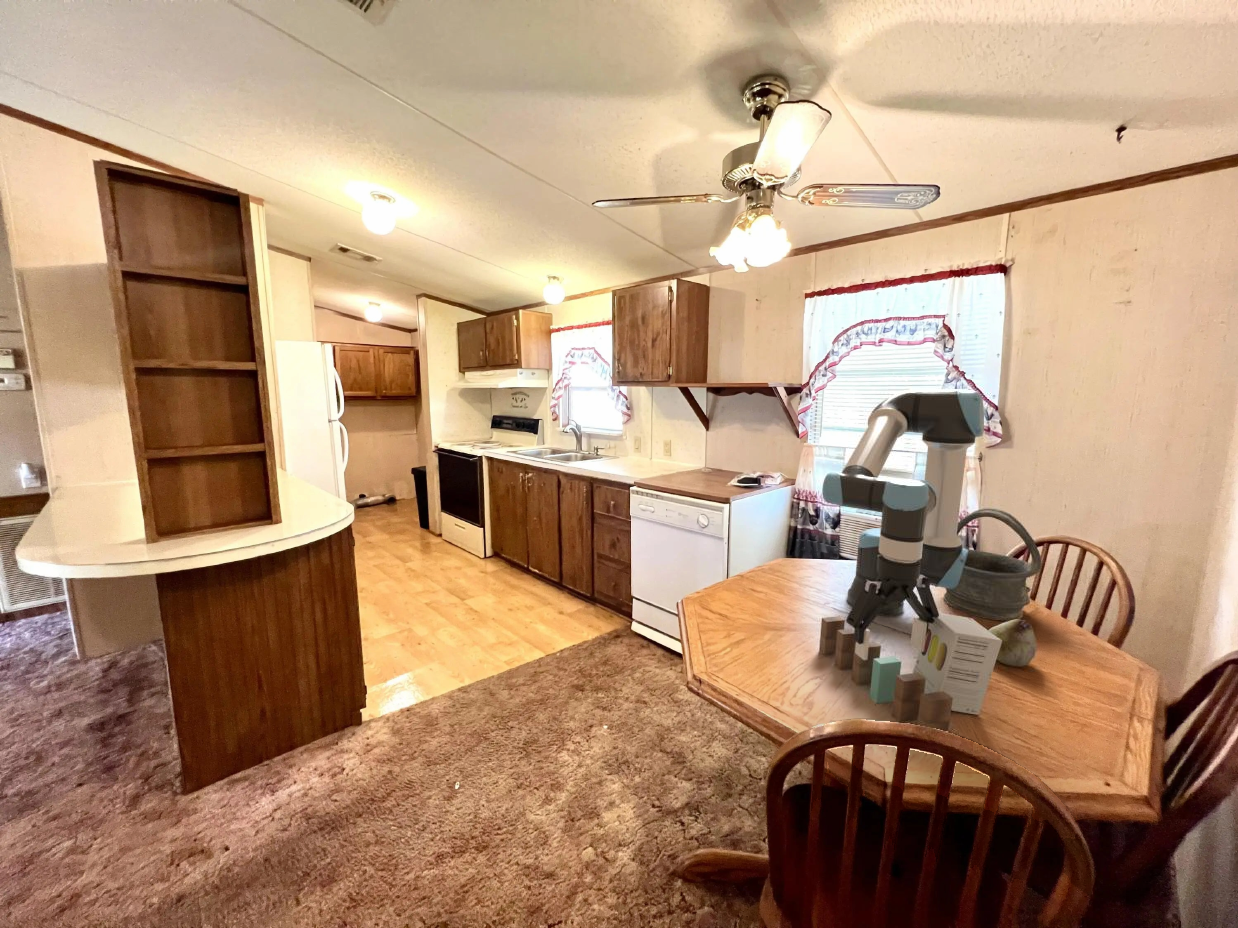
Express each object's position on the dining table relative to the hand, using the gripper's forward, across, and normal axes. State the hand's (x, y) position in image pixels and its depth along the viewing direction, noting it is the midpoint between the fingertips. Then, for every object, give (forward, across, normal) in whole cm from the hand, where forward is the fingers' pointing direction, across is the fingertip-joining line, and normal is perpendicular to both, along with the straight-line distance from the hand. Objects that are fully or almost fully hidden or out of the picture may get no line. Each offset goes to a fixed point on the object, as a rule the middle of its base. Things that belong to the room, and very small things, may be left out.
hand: (889, 652), depth 100 cm
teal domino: (+10, +1, 0) cm, 11 cm away
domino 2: (+11, +1, -12) cm, 16 cm away
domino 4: (+10, +1, +6) cm, 12 cm away
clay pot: (+12, -60, -31) cm, 69 cm away
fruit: (+12, -39, -6) cm, 41 cm away
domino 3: (+11, +1, -6) cm, 12 cm away
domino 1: (+11, +1, -18) cm, 21 cm away
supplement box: (+10, -11, +3) cm, 16 cm away
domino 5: (+10, +1, +12) cm, 16 cm away
